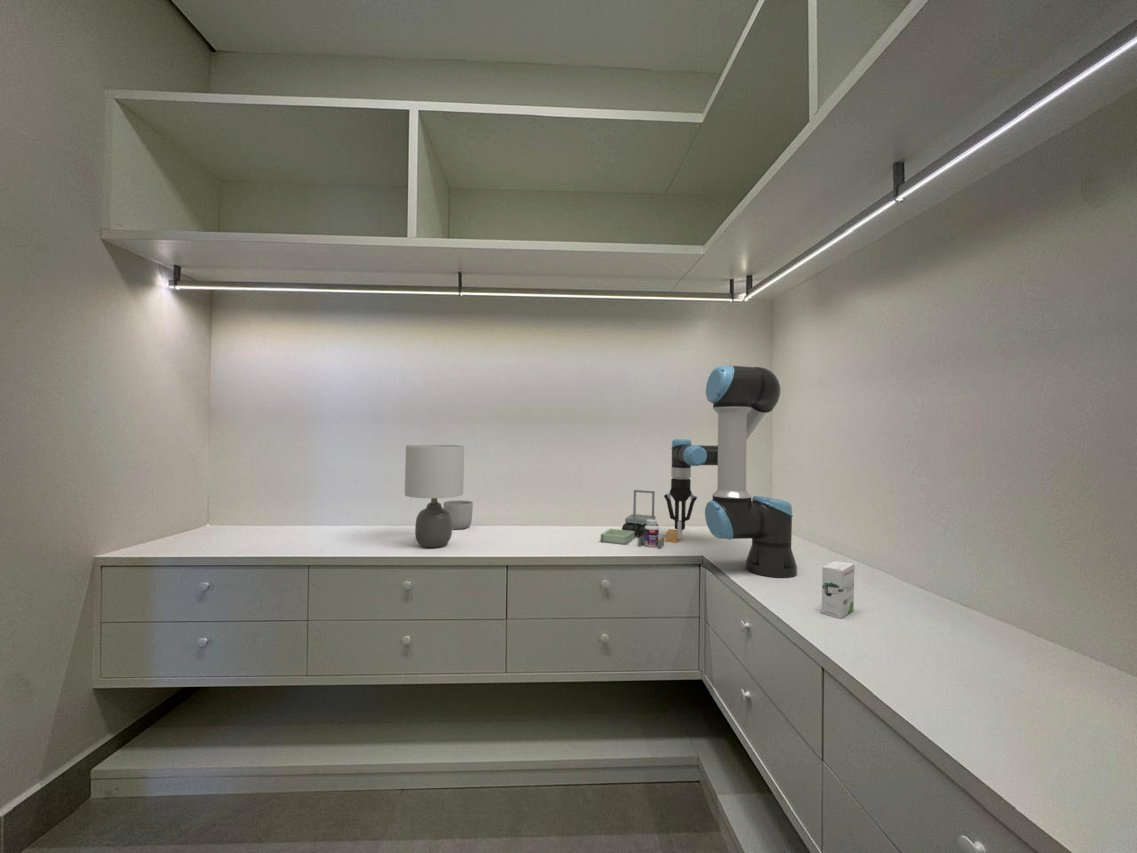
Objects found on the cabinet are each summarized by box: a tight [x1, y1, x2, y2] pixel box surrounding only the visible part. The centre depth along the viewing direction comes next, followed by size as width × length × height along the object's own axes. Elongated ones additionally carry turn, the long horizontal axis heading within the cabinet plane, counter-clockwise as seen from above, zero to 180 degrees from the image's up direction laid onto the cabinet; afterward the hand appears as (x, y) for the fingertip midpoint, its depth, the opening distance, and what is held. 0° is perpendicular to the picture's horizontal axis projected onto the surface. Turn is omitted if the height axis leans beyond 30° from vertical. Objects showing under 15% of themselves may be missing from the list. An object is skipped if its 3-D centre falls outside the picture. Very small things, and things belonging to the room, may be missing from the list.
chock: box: [665, 528, 680, 544], centre depth 199 cm, size 6×4×4 cm, turn 158°
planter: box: [443, 499, 474, 530], centre depth 216 cm, size 12×12×11 cm
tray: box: [600, 528, 636, 546], centre depth 198 cm, size 12×10×3 cm
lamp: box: [404, 444, 465, 549], centre depth 183 cm, size 21×21×37 cm
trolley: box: [621, 489, 659, 537], centre depth 208 cm, size 12×13×18 cm
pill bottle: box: [643, 519, 660, 548], centre depth 190 cm, size 5×5×10 cm
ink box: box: [821, 560, 855, 619], centre depth 123 cm, size 9×5×12 cm, turn 133°
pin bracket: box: [637, 535, 665, 550], centre depth 190 cm, size 7×8×3 cm
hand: (679, 537), depth 198 cm, fingers closed
